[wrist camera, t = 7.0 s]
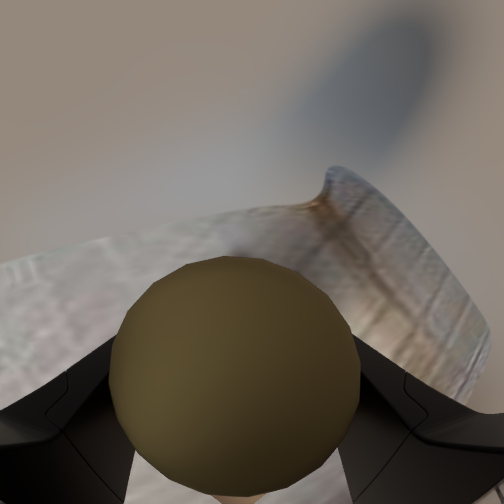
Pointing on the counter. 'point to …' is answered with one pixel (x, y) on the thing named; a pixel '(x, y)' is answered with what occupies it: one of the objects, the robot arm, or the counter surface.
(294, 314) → the pepper shaker
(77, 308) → the counter surface
